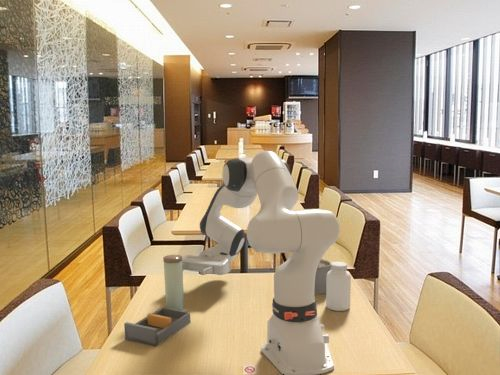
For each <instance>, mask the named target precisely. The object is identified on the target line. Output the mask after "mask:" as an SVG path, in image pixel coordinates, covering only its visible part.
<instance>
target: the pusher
mask: <svg viewBox="0 0 500 375" xmlns="http://www.w3.org/2000/svg"><path fill="white" fill-rule="evenodd" d="M146 317H147V320H148V325H152V326H157V327H161V328H165V327H167V326H168V325H170V324H171V317H166V316H161V315H156V314H152V313H148V314H147V316H146Z"/></svg>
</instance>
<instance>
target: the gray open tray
mask: <svg viewBox="0 0 500 375" xmlns="http://www.w3.org/2000/svg"><path fill="white" fill-rule="evenodd" d="M151 314H156V315H161V316H166V317H171V324H170V325H168V326H167V327H165V328H161V327H157V326H152V325H148V320H147V316H145V317H144V318H142V319H141V320H139V321H137V322H135V323H132V322H128V321H126V322H124V325H123V326H124V338H125V339H124V340H126V341H130V342H134V343H138V344H143V345H148V346H152V347H157V346H159V345H160V344H162V343H163V342H165V341H166V340H168V339H169V338H171V337H172V336H173V335H176V333H178V332H179V331H180V330H182V329H183V328H185V327H186V326H187V325H189V324H190V323H191V313H190V312H188V311H187V310H178V309H172V308H167V307H166V306H162V307H160V308H159V309H157V310H156V311H154V312H152V313H151Z"/></svg>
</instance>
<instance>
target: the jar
mask: <svg viewBox="0 0 500 375" xmlns="http://www.w3.org/2000/svg"><path fill="white" fill-rule="evenodd" d="M162 258H163V260H162V262H163V271H164V291H165V292H164V293H165V307H167V308H172V309H178V310H183V311H185V294H184V293H185V292H184V273H183V272H184V271H183V269H182V255H181V254H167V255H165V256H163V257H162Z"/></svg>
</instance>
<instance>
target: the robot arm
mask: <svg viewBox="0 0 500 375" xmlns="http://www.w3.org/2000/svg"><path fill="white" fill-rule="evenodd" d="M221 175H222V177H221V178H222V181H223V184H222V185H221V186H219V187H218V188H217V190H216V191H215V193H214V194H213V196H212V199H211V201H210V203H209V205H208V207H207V209H206V211H205V213H204V214H203V216H202V218H201V220H200V222H199V230H200V233H201V234H202V235H204V236H206V237H208V238H210V240H213V241H214V242H216V244H215V245H213V246H211V247H208V248H206V249H204V250H202V251H201V252H200V253H199V255H192V254H190V255H189V254H188V255H186V254H185V255H183V256H182V255H181V256H182V269H183V272H184V271H190V272H198V273H199V274H200V275H201V276H206V275H210V274H211V275H216V276H222V275H226V274H228V273H230V272H231V271H232V262H233V261H234V260H235V259H236V258H237V256H238V255H239V253H240V252H241V251H242V249H243V247H244V245H245V243H246V239H247V242H248V244H249V245H250V246H249V247H250V248H251V249H252V250H253V251H255V252H256V253H263V254H270V255H271V254H272V255H273V254H275V255H276V254H283V253H291V254H290V255H289V257H288V259H286V261H285V262H283V263H281V264H280V265H279V266H278V267H277V268H276V270H275V272H274V275H273V299H272V304H271V307H272V313H273V314H272V315H271V317H269V319H268V320H267V328H266V343H265V344H263V345H262V346H261V348H260V351H261V353H262V354H263V355H264V356H265V357H266V358H267V360H269V361H270V362H271V363H272V365H273V366H274V367H275V368H276V369H277V371H278V372H279V373H280V374H281V375H283V374H284V375H320V374H325V373H328V372H331V371H333V370H334V369H335V364H334V361H333V356H332V354H331V351H330V348H329V343H330V337H329V334H328V333H327V334H323V330H325V328H324V327H325V325H324V324H321V323H320V316H319V314H318V310H317V309H318V306H317V305H318V304H317V301H316V298H315V294H314V289H315V275H316V270H317V267H318V264H319V262H320V260H321V259H322V258H323V256H324V255H325V253H326V252H327V251H328V250H329V249H330V248H331V246H333V245H334V244H335V243H336V242H337V241H338V239H339V236H340V230H341V229H340V222H339V219H338V218H337V216H336V215H335V213H333V211H331V210H327V209H321V208H307V209H295V210H294V209H293V208H294V207H295V206H296V204H297V202H298V199H299V191H298V188H297V186H296V183H295V182H294V179H293V176H292V175H291V168H290V166H289V164H288V162H286V160H285V159H283V158H281V157H280V156H279V155H278V154H277V153H276V152H274V151H271V150H263V151H260V152H258V153H256V155H254V157H253V156H252V157H247V156H246V157H245V156H244V157H241V158H238V157H236V158H231V159H228V160H227V161H226V162H225V163H224V165H223V168H222V173H221ZM257 196H258V199H259V203H260V209H259V211H258V212H257V213H256V214H255V215H254V216H253V217H252V218H251V219H250V220H249V222H248V224H247V227H246V233H245V230H244V229H243V228H242V227H240V226H239V225H237V224H236V223H234V222H232V221H231V220H229V218H227V217H225V216H223V215H222V213H221V210H222V209H223V206H227V207H231V208H233V209H243V208H248V206H251V205H252V204H253V203H254V202H255V199H256V198H257ZM292 209H293V210H292Z"/></svg>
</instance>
